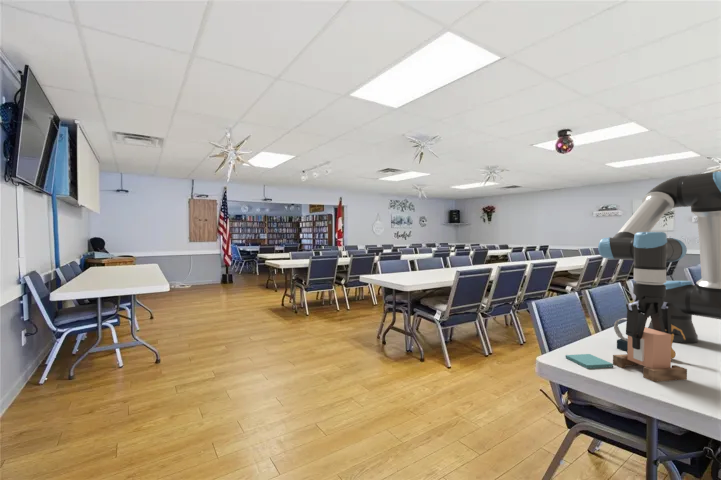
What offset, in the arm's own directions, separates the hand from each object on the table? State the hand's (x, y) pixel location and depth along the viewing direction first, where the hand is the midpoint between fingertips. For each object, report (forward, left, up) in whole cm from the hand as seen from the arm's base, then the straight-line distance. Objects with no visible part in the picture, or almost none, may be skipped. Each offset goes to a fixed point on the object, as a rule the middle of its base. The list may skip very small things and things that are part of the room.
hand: (648, 358), depth 102 cm
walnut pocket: (0, 0, -4) cm, 4 cm away
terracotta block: (0, 0, -1) cm, 1 cm away
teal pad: (+12, -9, -4) cm, 16 cm away
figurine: (-18, -9, -4) cm, 20 cm away
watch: (-13, -19, -4) cm, 23 cm away
